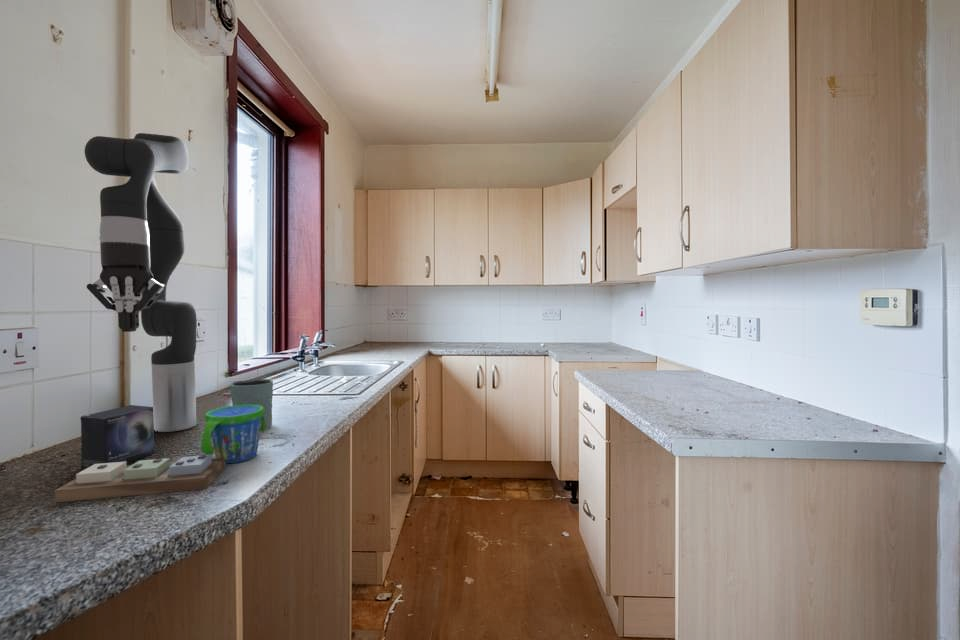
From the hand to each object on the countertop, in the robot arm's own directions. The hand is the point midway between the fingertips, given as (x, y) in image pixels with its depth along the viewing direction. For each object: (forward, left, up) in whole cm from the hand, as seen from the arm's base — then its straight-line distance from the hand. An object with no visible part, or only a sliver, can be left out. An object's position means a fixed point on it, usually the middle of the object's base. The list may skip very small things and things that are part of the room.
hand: (129, 331), depth 86 cm
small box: (-5, -5, -27) cm, 28 cm away
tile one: (+10, 0, -27) cm, 29 cm away
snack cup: (-1, +18, -27) cm, 33 cm away
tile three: (+10, +14, -27) cm, 32 cm away
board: (+10, +7, -27) cm, 30 cm away
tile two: (+10, +7, -27) cm, 30 cm away
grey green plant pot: (-25, +15, -27) cm, 40 cm away
